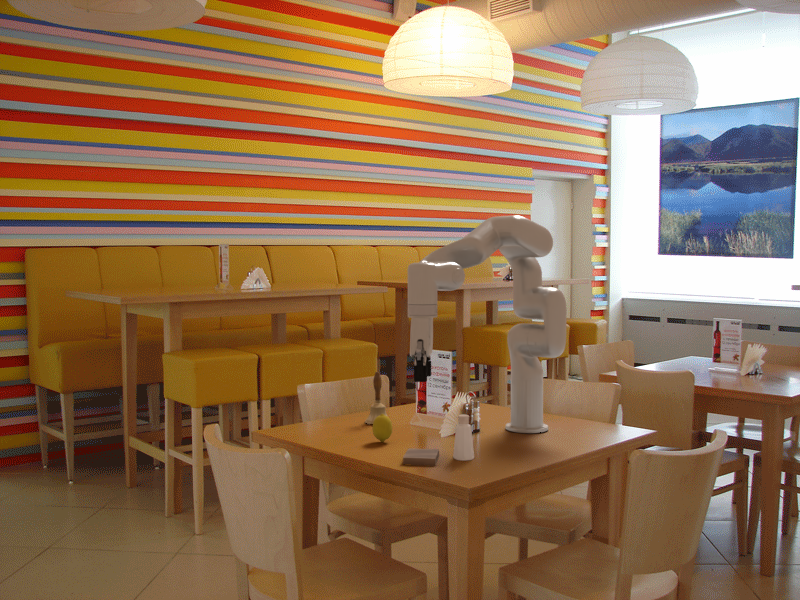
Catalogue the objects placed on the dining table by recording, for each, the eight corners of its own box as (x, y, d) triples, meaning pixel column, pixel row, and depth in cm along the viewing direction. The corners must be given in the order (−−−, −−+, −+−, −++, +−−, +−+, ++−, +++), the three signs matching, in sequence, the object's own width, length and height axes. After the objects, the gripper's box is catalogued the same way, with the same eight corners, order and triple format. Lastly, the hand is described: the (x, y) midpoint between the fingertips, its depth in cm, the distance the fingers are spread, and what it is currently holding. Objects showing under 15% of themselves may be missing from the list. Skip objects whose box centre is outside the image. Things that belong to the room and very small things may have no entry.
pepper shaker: (448, 458, 194) (448, 415, 194) (462, 454, 198) (462, 412, 198) (464, 461, 191) (464, 418, 190) (478, 458, 194) (478, 415, 194)
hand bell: (391, 425, 236) (390, 373, 235) (364, 425, 236) (363, 373, 235) (391, 419, 244) (391, 370, 244) (365, 419, 244) (365, 370, 244)
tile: (408, 448, 198) (403, 457, 188) (439, 449, 197) (435, 458, 187) (408, 455, 198) (403, 465, 188) (439, 456, 197) (435, 466, 187)
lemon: (385, 445, 209) (385, 416, 208) (368, 443, 212) (368, 414, 211) (396, 441, 213) (396, 413, 213) (379, 439, 216) (379, 411, 216)
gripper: (412, 309, 202) (412, 374, 203) (402, 313, 185) (403, 383, 186) (440, 309, 201) (440, 374, 202) (433, 313, 184) (434, 384, 185)
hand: (422, 378), depth 194 cm, fingers open, 9 cm apart
